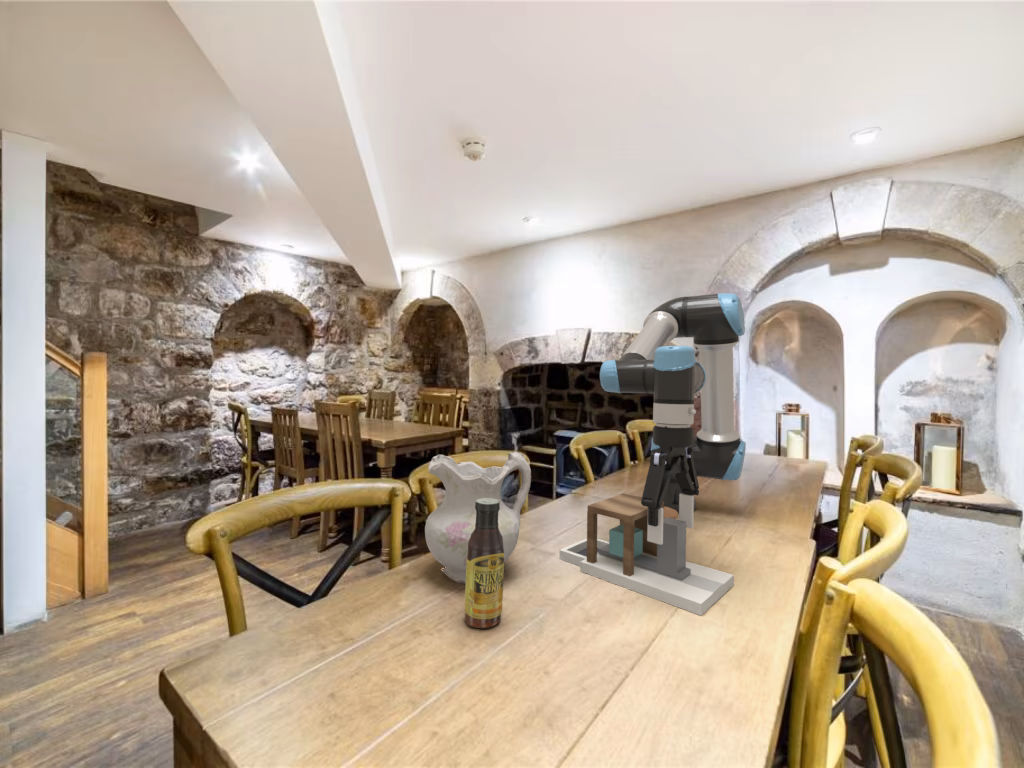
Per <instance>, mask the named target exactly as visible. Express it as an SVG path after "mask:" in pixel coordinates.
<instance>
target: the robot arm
mask: <svg viewBox="0 0 1024 768" xmlns="http://www.w3.org/2000/svg"><path fill="white" fill-rule="evenodd" d="M745 324H746V323H745V315H744V309H743V305H742V302H741V297H739V296H738V294H736V293H732V292H731V293H729V292H728V293H727V292H726V293H720V292H719V293H711V294H702V295H690V296H679V297H676V298H672V299H670V300H668V301H665V302H664V303H662V304H660V305H659V306H657V307H656V308H654V309H653V310H652V311H651V312H650V313H648V314H647V317H645V319H644V321H643V325H642V328H641V330H640V332H639V333H638V334H637V336H636V337H635V338H634V339H633V341H631V343H630V345H629V346H628V347H627V349H626V350H625V351H624V353H623V354H622V355H621V357H619V359H614V358H613V359H612V360H611V359H609V360H605V361H603V362H602V364H601V366H600V370H599V380H600V386H601V388H602V389H603V390H604V392H606V393H607V392H608V393H618V394H623V393H624V394H653V406H652V407H653V408H652V409H653V410H652V423H654V424H655V425H654V426H653V427H652V438H651V445H650V456H649V457H650V459H649V466H648V471H647V475H646V480H645V483H644V487H643V488H644V489H643V492H642V496H641V497H642V499H641V504H642V505H643V506H647V507H648V530H647V541H649V542H653V543H656V544H660V545H662V544H663V509H664V508H661V505H662V502H664V506H665V507H669V508H672V509H674V510H676V511H677V512H678V520H681V521H685V522H686V528H689V529H694V516H695V514H694V512H695V511H696V509H697V507H696V506H697V503H696V498H695V496H699V494H700V490H699V489H700V485H699V480H698V478H707V479H715V480H721V481H737V480H738V479H739V478H741V475H742V471H743V466H744V459H745V456H746V455H745V454H746V447H747V446H746V445H747V443H746V441H744V440H741V435H740V432H738V431H737V430H736V429H735V418H734V417H735V416H734V414H735V413H734V412H735V411H734V410H735V408H734V407H735V406H734V405H735V404H734V402H735V401H734V363H733V362H734V347H735V346H736V345H738V343H739V341H740V339H739V337H741V336H744V335H745V333H746V327H745ZM678 338H693V345H694V346H695V347H696V348H698V350H699V362H698V361H697V359H696V353H695V348H693V346H688V345H667V344H668V343H670V342H672V341H673V340H674V339H678ZM698 392H700V407H701V409H700V411H701V412H700V413H701V429H700V430H698V431H697V433H696V437H694V434H695V429H694V428H693V427H691V426H692V425H693V424H695V423H694V421H695V414H697V410H696V409H695V394H696V393H698Z"/></svg>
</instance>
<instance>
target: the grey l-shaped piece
mask: <svg viewBox="0 0 1024 768" xmlns="http://www.w3.org/2000/svg"><path fill="white" fill-rule="evenodd" d="M598 553H599V554H602V555H605V556H608V557H611V558H614V559H617V560H620V561H623V557H620V556H616V555H613V554H610V553H609V544H607V545H605V546H603V547H601V548H599V549H598ZM686 561H687V527H686V522H685V521H681V520H679V519H678V520H677V519H672V518H668V517H666V518H664V519H663V544H662V545H660V544H657V559H656V558H653V557H650V556H647V555H643V554H640V555H639V556H637V557H635V558H634V565H636V566H639V567H642V568H645V569H648V570H651V571H654V572H657V573H660V574H664V575H667V576H670V577H673V578H676V579H679V580H683V579H684V578H686V577H687V576H689V575H690V574H691V569H690V568H686Z"/></svg>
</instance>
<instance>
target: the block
mask: <svg viewBox="0 0 1024 768" xmlns="http://www.w3.org/2000/svg"><path fill="white" fill-rule="evenodd" d="M608 532H609V533H608V534H609V535H608V536H609V538H608V539H609V540H608V542H609V553H610V554H613V555H616V556H620V557H623V532H624V525H623V524H621V525H620V524H619V525H617V526H614V527H613V528H610V529H609V531H608ZM642 552H643V530H642V529H638V528H634V558H635V557H637V556H639V555H640V554H642Z"/></svg>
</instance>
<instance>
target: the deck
mask: <svg viewBox="0 0 1024 768" xmlns="http://www.w3.org/2000/svg"><path fill="white" fill-rule="evenodd" d="M607 544H609V541H606V540H603V539H600V538H597V562H595V563H593V564H592V563H589V562H587V537H586V538H584V539H581V540H579V541H577V542H575V543H572V544H570V545H567V546H565V547H563V548H561V549H559V560H562V561H565V562H568V563H570V564H573V565H575V566H579V568H580V569H579V572H582V573H585V574H587V575H591V576H593V577H595V578H597V579H601V580H603V581H607V582H608V583H611V584H614V585H617V586H620V587H622V588H625V589H628V590H631V591H633V592H636V593H639V594H642V595H643V596H646V597H649V598H653V599H655V600H657V601H661V602H664V603H665V604H668V605H672V606H674V607H677V608H679V609H682V610H684V611H688V612H689V613H693V614H696V615H698V616H703V615H704V614H705V613H706V612H707V610H709V609H710V608H711V607H712V606H713V605H714V604H715V603H716V602H717V601H718V600H719V599H721V598H722V597H723V596H724V595H725V594H726V593H727V592H729V590H730V589H731V588H733V587H734V583H735V582H734V581H735V580H734V579H735V575H734V574H732V573H728V572H724V571H721V570H717V569H715V568H711V567H707V566H705V565H701V564H697V563H694V562H691V561H687V560H686V568H690V569H691V574H690V575H689V576H687V577H686V578H684V579H683V580H679V579H676V578H673V577H670V576H667V575H664V574H660V573H657V572H654V571H651V570H648V569H645V568H642V567H639V566H636V565H634V574H633V575H632V576H630V577H629V576H627V575H624V574H623V561H620V560H617V559H614V558H611V557H608V556H605V555H602V554H599V553H598V549H599V548H601V547H603V546H605V545H607ZM642 554H643V555H647V556H650V557H653V558H656V559H657V557H656V556H653V555H649V554H646V553H643V552H642Z"/></svg>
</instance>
